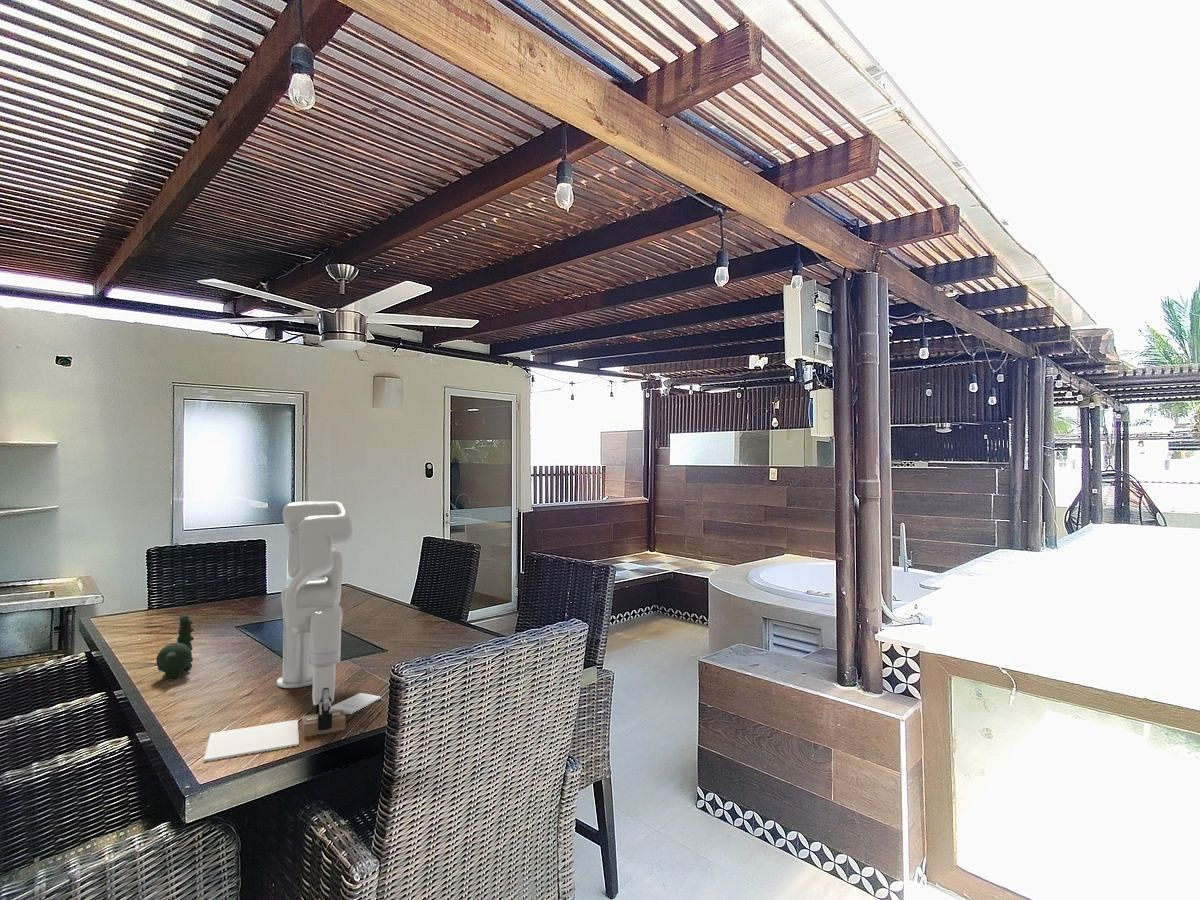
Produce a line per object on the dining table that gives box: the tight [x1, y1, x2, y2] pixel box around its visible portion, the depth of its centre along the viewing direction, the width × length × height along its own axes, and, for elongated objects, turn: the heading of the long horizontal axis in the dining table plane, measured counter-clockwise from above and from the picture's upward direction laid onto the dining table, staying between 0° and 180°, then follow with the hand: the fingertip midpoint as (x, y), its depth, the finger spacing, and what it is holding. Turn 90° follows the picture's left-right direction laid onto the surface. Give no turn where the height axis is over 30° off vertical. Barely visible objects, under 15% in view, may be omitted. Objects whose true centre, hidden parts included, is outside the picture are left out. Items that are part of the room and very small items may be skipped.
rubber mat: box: [203, 719, 300, 763], centre depth 157 cm, size 16×20×1 cm
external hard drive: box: [331, 692, 382, 715], centre depth 181 cm, size 2×8×12 cm
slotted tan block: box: [301, 710, 346, 738], centre depth 164 cm, size 6×10×4 cm, turn 119°
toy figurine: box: [155, 613, 194, 681], centre depth 207 cm, size 9×19×25 cm
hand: (323, 722), depth 164 cm, fingers open, 9 cm apart
